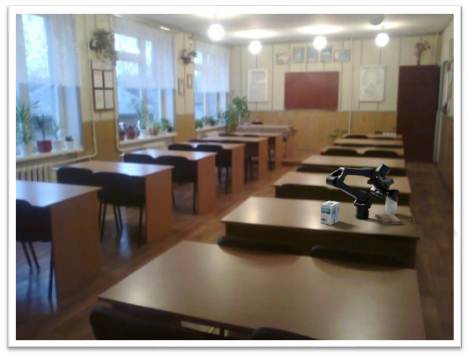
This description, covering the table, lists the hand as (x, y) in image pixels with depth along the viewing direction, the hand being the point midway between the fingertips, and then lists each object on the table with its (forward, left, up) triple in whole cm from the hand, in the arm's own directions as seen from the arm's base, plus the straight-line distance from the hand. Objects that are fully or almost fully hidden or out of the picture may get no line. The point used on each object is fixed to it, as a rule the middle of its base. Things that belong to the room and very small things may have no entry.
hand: (391, 200), depth 257 cm
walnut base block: (-7, -15, -8) cm, 18 cm away
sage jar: (0, 0, -8) cm, 8 cm away
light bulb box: (-40, -17, -8) cm, 44 cm away
